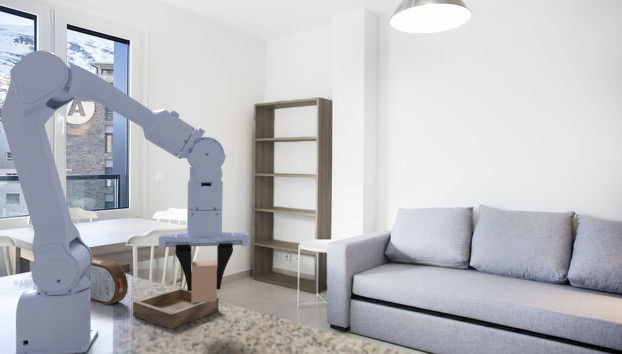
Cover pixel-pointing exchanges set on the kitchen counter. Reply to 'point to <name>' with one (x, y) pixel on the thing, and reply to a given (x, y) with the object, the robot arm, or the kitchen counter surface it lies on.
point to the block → (204, 281)
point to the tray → (173, 308)
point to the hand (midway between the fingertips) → (204, 288)
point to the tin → (107, 281)
